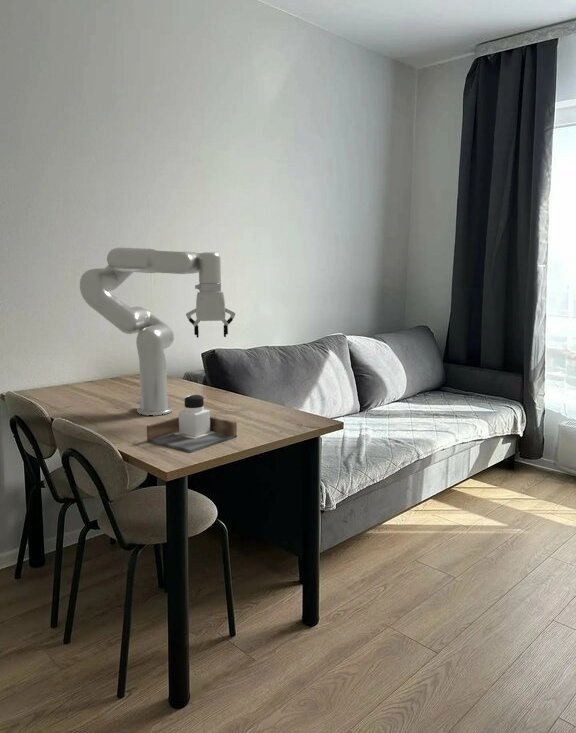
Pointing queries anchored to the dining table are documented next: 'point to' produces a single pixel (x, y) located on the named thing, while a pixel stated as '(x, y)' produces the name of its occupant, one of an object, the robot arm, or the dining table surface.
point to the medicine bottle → (194, 417)
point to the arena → (170, 435)
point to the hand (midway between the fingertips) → (211, 336)
